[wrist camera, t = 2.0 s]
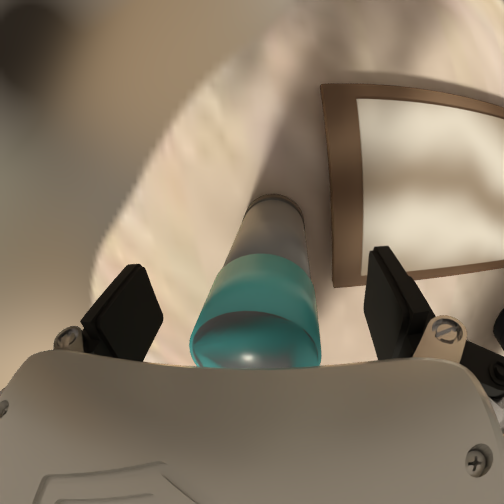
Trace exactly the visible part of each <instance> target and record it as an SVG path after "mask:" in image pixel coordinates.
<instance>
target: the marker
mask: <svg viewBox="0 0 504 504" xmlns="http://www.w3.org/2000/svg"><path fill="white" fill-rule="evenodd" d="M189 347H190V353H191V356H192V358H193V360H194V362H195V364H196V365H197V367H214V368H292V367H311V366H319V365H320V363H321V344H320V334H319V324H318V315H317V306H316V297H315V290H314V287H313V284H312V282H311V277H310V268H309V261H308V253H307V246H306V238H305V226H304V220H303V215H302V212H301V210H300V208H299V207H298V206H297V204H296V203H295V202H294V201H292V200H291V199H289V198H287V197H285V196H283V195H278V194H269V195H265V196H262V197H259V198H258V199H256V200H255V201H254V202H252V204H251V205H250V206H249V207H248V209H247V211H246V213H245V216H244V218H243V221H242V224H241V227H240V229H239V231H238V234H237V236H236V238H235V240H234V243H233V245H232V247H231V250H230V252H229V254H228V257H227V259H226V261H225V264H224V266H223V268H222V270H221V271H220V272H219V273H218V275H217V277H216V279H215V281H214V283H213V285H212V288H211V290H210V292H209V295H208V297H207V299H206V301H205V304H204V306H203V308H202V311H201V313H200V315H199V318H198V320H197V323H196V325H195V327H194V330H193V332H192V334H191V338H190V344H189Z"/></svg>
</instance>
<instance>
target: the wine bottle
mask: <svg viewBox="0 0 504 504" xmlns="http://www.w3.org/2000/svg"><path fill="white" fill-rule="evenodd" d="M493 332H494V336H495V337H496V339H497V340H498V342H499V344H500V345H501V347H502V348H503V350H504V309H503V310H502V312H501V313H500V315H499V317H498V318H497V320H496V323H495V325H494V331H493Z"/></svg>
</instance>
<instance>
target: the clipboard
mask: <svg viewBox="0 0 504 504" xmlns="http://www.w3.org/2000/svg"><path fill="white" fill-rule="evenodd" d="M320 90H321V97H322V105H323V113H324V121H325V130H326V140H327V151H328V163H329V177H330V193H331V216H332V282H333V287H334V288H340V287H352V286H363V285H366V281H367V271H368V259H369V251H372V250H373V249H374V247H376V246H389V247H390V249H391V250H392V252H393V253H394V255H395V256H396V257H397V259H398V260H399V262H400V263H401V265H402V266H403V268H404V270H405V271H406V273H407V274H408V276H411V277H412V278H413V280H421V279H429V278H437V277H445V276H452V275H459V274H466V273H473V272H480V271H486V270H493V269H499V268H504V108H503V107H500V106H497V105H494V104H490V103H487V102H483V101H479V100H476V99H471V98H467V97H463V96H458V95H454V94H449V93H443V92H438V91H432V90H425V89H418V88H410V87H401V86H390V85H375V84H321V85H320Z"/></svg>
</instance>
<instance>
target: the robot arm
mask: <svg viewBox="0 0 504 504" xmlns="http://www.w3.org/2000/svg"><path fill="white" fill-rule="evenodd" d="M364 314H365V317H366V321H367V324H368V327H369V330H370V333H371V337H372V340H373V344H374V347H375V350H376V354H377V358H378V360H377V361H368V362H357V363H348V364H338V365H325V366H311V367H292V368H214V367H195V366H181V365H169V364H159V363H149V362H143V360H144V358H145V356H146V354H147V352H148V350H149V348H150V346H151V344H152V342H153V340H154V338H155V336H156V334H157V332H158V330H159V328H160V326H161V324H162V322H163V313H162V311H161V309H160V306H159V304H158V301H157V299H156V296H155V293H154V291H153V288H152V286H151V283H150V280H149V278H148V275H147V272H146V270H145V268H144V267H142V266H141V265H140V264H130V265H127V266H126V267H125V268H124V269H123V270H122V271H121V273H120V274H119V275H118V276H117V277H116V278H115V279H114V281H113V282H112V283H111V284H110V285H109V286H108V288H107V289H106V290H105V291H104V292H103V294H102V295H101V296H100V297H99V298H98V300H97V301H96V302H95V303H94V304H93V306H92V307H91V308H90V309H89V311H88V312H87V313H86V314H85V316H84V317H83V318H82V320H81V321H80V322H81V324H82V325H83V327H84V329H83V330H81V328H79V327H78V326H70V327H68V328H66V329H64V330H62V331H61V332H60V333H59V334H58V335H57V336H56V338H55V340H54V350H48V351H43V352H39V353H36V354H33V355H31V356H30V357H29V358H28V359H27V360H26V361H25V362H24V363H23V364H22V365H21V367H20V368H19V369H18V370H17V372H16V373H15V374H14V376H13V377H12V379H11V380H10V382H9V383H8V385H7V386H6V387H5V388H4V389H3V390H1V391H0V504H504V357H503V356H501V355H499V354H496V353H494V352H492V351H490V350H487V349H485V348H483V347H481V346H478V345H476V344H474V343H472V342H469V341H467V340H466V338H467V331H466V328H465V326H464V325H463V324H462V323H461V322H460V321H459V320H458V319H456V318H454V317H451V316H447V315H440V316H437V317H436V316H435V315H434V313H433V311H432V309H431V308H430V306H429V304H428V303H427V301H426V299H425V298H424V296H423V294H422V293H421V291H420V289H419V288H418V286H417V285H416V283H415V281H414V280H413V278H412V277H411V276H408V274H407V273H406V271H405V270H404V268H403V266H402V265H401V263H400V262H399V260H398V259H397V257H396V256H395V255H394V253H393V252H392V250H391V249H390V247H389V246H376V247H374V249H373V250H372V251H369V259H368V271H367V281H366V291H365V299H364Z"/></svg>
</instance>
